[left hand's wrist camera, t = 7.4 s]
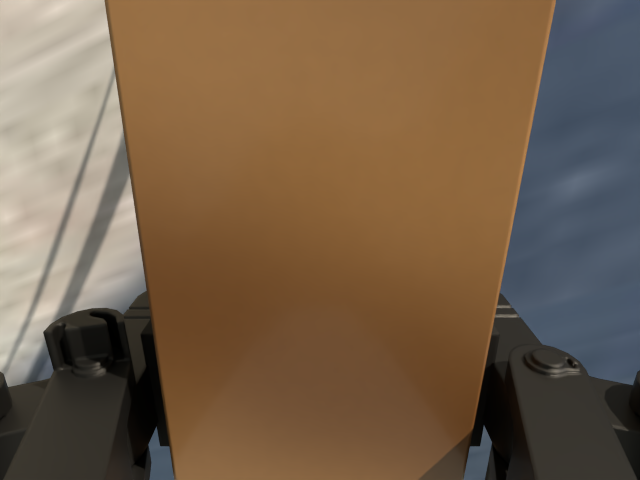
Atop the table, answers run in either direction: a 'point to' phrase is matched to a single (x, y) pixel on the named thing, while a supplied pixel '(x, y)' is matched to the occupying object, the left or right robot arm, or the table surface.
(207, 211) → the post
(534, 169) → the table surface
